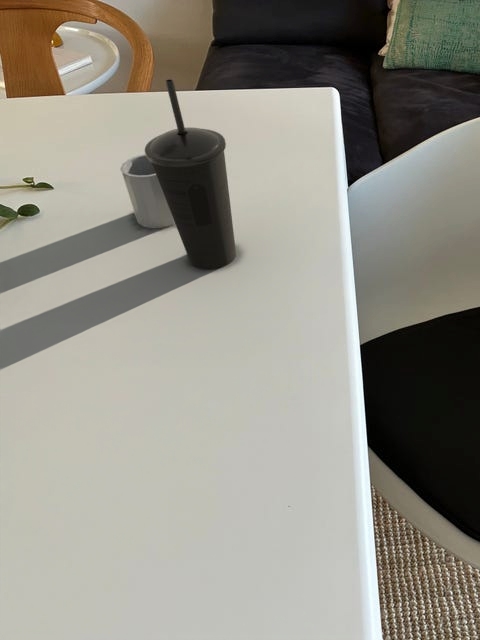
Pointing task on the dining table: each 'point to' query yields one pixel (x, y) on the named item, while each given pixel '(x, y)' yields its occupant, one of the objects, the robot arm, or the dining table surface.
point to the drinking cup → (195, 189)
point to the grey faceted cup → (146, 193)
